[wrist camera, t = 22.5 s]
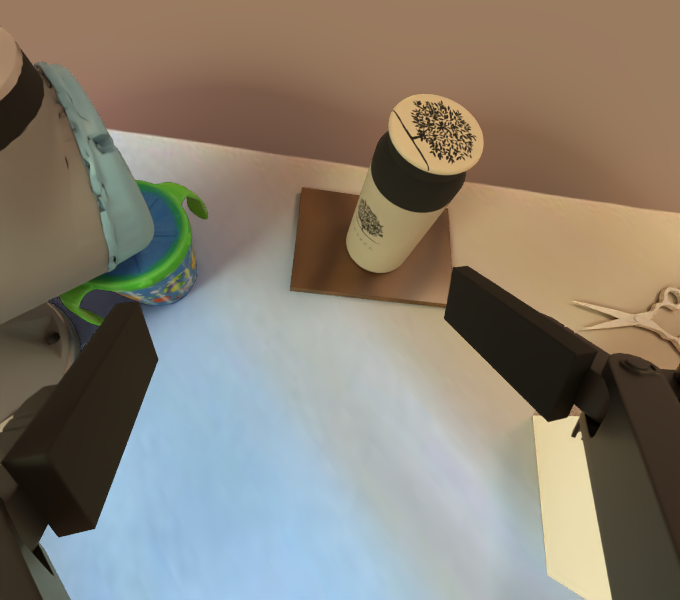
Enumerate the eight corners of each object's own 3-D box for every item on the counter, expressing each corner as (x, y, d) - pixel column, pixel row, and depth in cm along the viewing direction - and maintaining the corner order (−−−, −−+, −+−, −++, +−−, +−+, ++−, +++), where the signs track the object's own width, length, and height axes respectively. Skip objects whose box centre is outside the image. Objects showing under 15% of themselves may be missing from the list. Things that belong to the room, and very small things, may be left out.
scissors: (717, 358, 44) (586, 355, 41) (710, 359, 45) (581, 356, 42) (689, 284, 47) (567, 276, 44) (683, 286, 48) (563, 279, 45)
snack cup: (182, 205, 40) (149, 142, 31) (247, 257, 39) (234, 208, 30) (70, 295, 35) (-12, 252, 26) (141, 358, 34) (85, 337, 25)
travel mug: (394, 212, 43) (463, 86, 26) (416, 266, 41) (504, 166, 24) (337, 223, 41) (372, 94, 25) (356, 280, 39) (408, 182, 22)
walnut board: (290, 290, 39) (290, 287, 38) (301, 192, 44) (302, 186, 42) (449, 308, 41) (453, 305, 40) (444, 213, 46) (448, 208, 45)
